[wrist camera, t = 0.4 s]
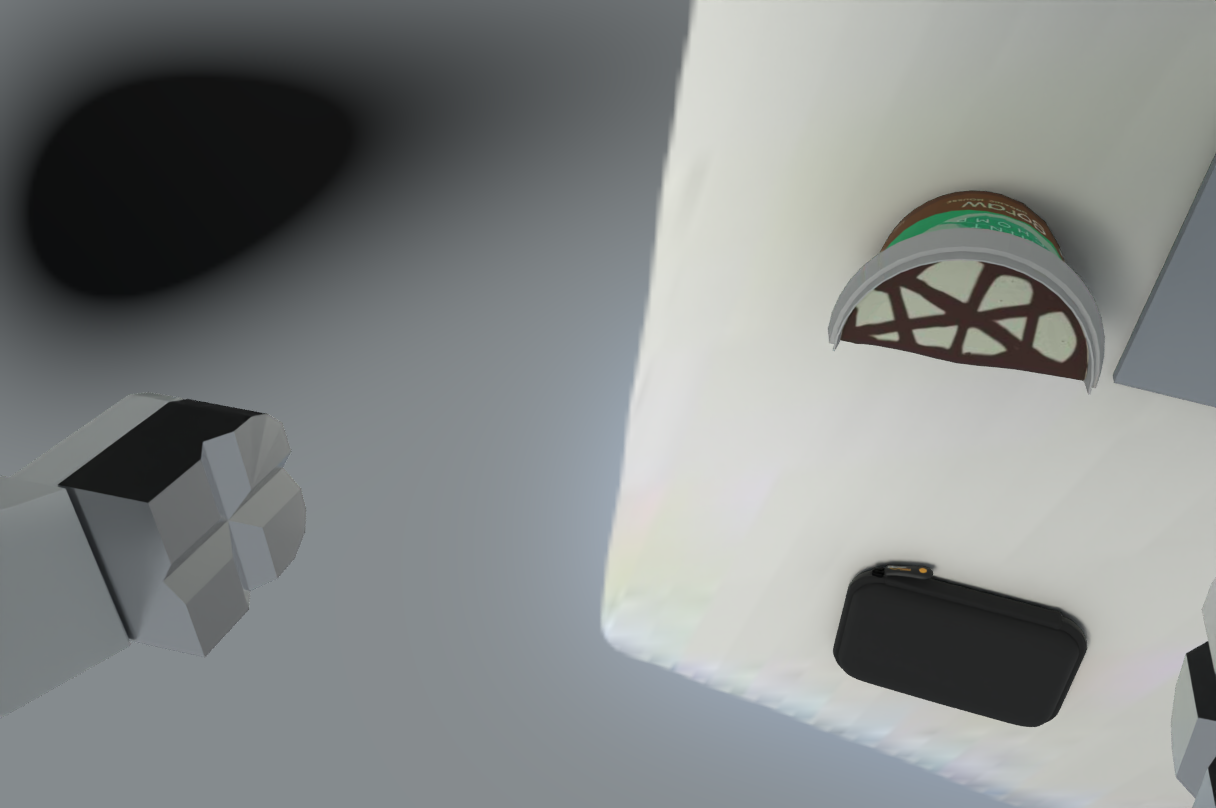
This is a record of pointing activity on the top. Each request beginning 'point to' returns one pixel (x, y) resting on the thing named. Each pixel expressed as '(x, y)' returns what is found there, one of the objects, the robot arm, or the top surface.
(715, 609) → the top surface
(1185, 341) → the slate mat
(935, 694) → the carrying case or bag
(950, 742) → the top surface
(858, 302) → the food container
